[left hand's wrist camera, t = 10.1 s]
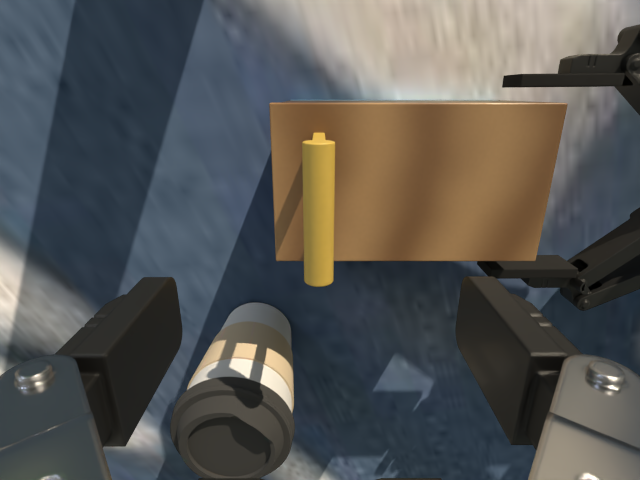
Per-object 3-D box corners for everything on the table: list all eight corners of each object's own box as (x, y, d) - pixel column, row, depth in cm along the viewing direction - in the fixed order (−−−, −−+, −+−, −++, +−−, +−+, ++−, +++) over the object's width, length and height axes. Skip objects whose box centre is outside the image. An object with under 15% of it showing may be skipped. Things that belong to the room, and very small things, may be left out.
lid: (277, 254, 28) (261, 313, 21) (271, 102, 25) (249, 106, 17) (526, 254, 28) (603, 314, 21) (556, 102, 25) (661, 106, 17)
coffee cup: (262, 381, 43) (234, 520, 29) (196, 332, 41) (132, 456, 27) (320, 330, 41) (320, 454, 27) (253, 275, 39) (216, 379, 25)
